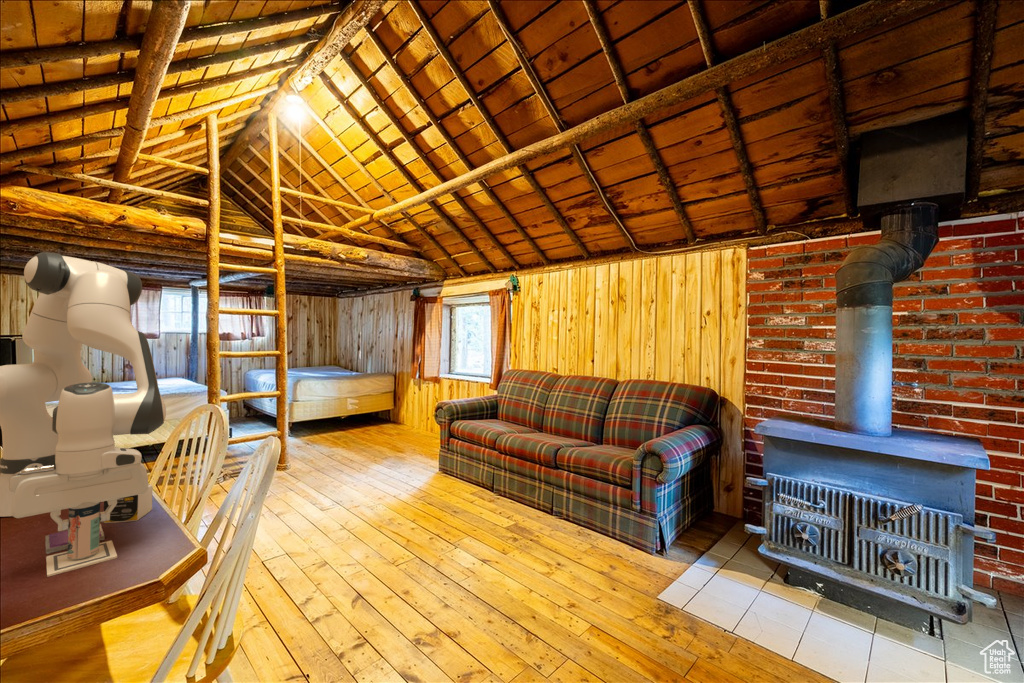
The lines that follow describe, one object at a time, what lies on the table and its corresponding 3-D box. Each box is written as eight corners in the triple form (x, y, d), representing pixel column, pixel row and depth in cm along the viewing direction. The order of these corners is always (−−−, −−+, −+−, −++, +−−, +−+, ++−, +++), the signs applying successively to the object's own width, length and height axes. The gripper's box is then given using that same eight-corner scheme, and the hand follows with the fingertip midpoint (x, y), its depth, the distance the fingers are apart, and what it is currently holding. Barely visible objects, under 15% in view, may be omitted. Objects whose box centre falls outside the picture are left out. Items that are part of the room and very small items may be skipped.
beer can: (69, 554, 89) (70, 498, 89) (100, 548, 92) (101, 493, 92) (65, 564, 85) (66, 505, 85) (98, 556, 88) (99, 500, 88)
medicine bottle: (102, 524, 104) (103, 476, 104) (120, 512, 111) (121, 467, 111) (137, 521, 106) (138, 474, 106) (152, 510, 113) (153, 466, 113)
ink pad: (45, 540, 96) (45, 534, 96) (100, 527, 102) (100, 522, 102) (46, 554, 90) (46, 548, 90) (104, 539, 96) (104, 534, 96)
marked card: (46, 558, 88) (46, 556, 88) (111, 542, 96) (111, 539, 96) (47, 576, 81) (47, 574, 81) (117, 557, 89) (117, 555, 89)
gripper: (8, 474, 79) (7, 547, 79) (150, 453, 94) (149, 515, 94) (9, 467, 83) (8, 537, 83) (145, 448, 98) (144, 507, 98)
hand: (84, 525), depth 89 cm, fingers closed on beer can, 5 cm apart
